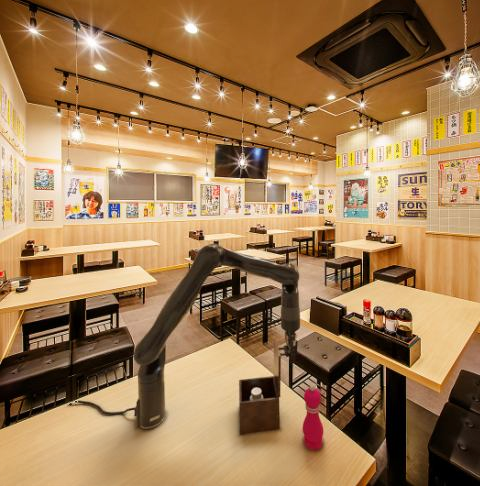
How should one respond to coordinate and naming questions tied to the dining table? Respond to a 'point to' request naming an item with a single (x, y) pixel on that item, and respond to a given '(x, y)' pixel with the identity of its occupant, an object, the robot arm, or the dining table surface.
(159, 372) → the robot arm
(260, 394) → the pill bottle
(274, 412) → the chest
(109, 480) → the dining table surface
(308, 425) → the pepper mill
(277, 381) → the lid
